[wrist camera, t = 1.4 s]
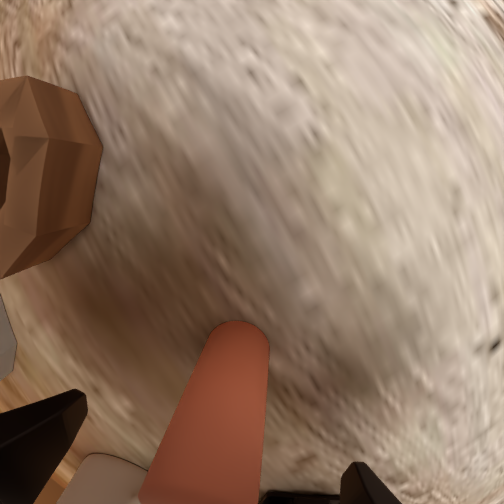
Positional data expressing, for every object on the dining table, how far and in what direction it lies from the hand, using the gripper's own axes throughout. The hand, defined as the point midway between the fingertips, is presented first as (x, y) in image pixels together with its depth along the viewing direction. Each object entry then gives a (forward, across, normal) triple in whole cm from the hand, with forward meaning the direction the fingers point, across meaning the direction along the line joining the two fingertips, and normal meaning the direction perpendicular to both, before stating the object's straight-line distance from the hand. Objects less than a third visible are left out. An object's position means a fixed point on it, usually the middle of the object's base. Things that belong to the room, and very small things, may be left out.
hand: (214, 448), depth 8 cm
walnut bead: (+6, +13, -6) cm, 16 cm away
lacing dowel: (+6, 0, 0) cm, 6 cm away
